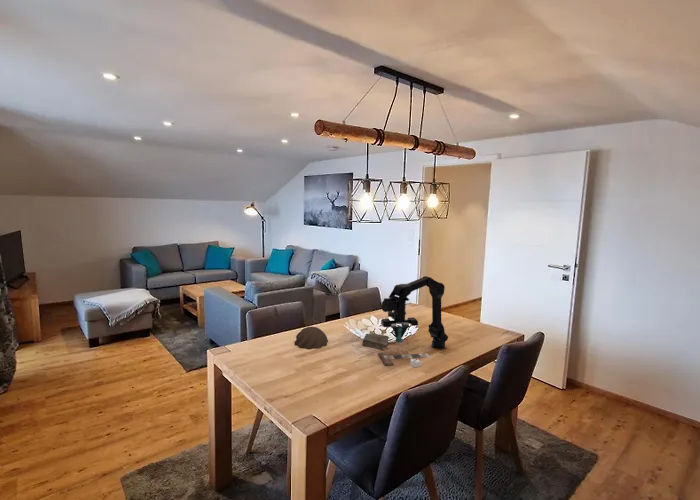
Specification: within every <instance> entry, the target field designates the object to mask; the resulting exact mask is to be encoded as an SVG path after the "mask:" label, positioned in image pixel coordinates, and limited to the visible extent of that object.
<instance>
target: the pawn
mask: <svg viewBox="0 0 700 500" xmlns="http://www.w3.org/2000/svg"><path fill="white" fill-rule="evenodd" d="M396 326H397V338H396V337H395V340H394V341H395V342H396V343H402V342H403V338H401V335H402V326H401V325H396Z"/></svg>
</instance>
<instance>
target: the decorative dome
mask: <svg viewBox="0 0 700 500" xmlns="http://www.w3.org/2000/svg"><path fill="white" fill-rule="evenodd" d="M327 336H328V335H326V333H325V332H324V331H323V330H322V329H320V328H319V327H316V326H307V327H304V328H302V329H301V330H300V331H299V332H298V333H297V334H296V335H295V339H296V340H295V341H294V345H295V346H297V347H298V349H306V350H319V349H321V348H323V347H327V346H328V342H329V339H328V337H327Z"/></svg>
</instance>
